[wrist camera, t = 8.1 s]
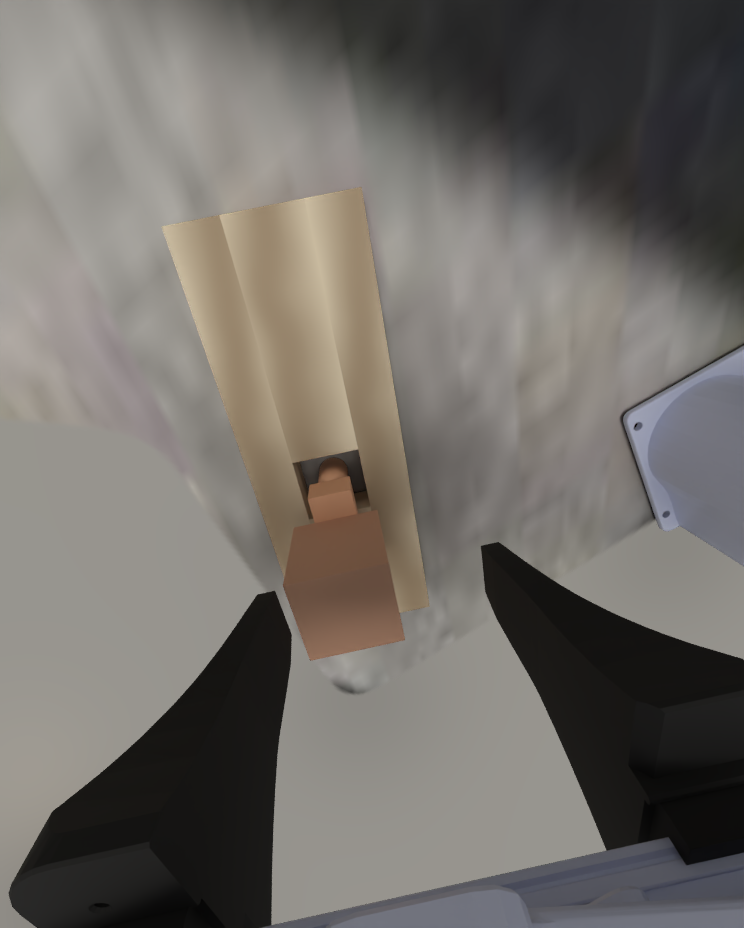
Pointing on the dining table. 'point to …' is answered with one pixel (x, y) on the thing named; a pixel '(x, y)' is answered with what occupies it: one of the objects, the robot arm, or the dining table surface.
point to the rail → (303, 360)
